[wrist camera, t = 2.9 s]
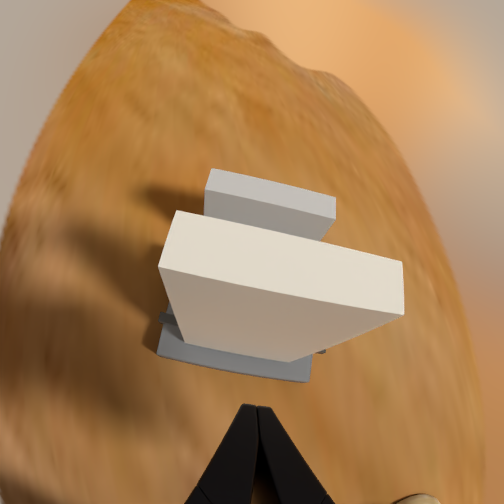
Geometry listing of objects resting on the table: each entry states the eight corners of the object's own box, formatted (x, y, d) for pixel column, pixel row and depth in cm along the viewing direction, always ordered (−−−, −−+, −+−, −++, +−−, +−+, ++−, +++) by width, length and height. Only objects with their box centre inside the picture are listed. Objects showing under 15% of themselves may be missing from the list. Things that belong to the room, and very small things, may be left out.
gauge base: (302, 382, 18) (346, 377, 12) (159, 356, 17) (138, 340, 11) (316, 250, 22) (351, 202, 16) (194, 223, 21) (193, 164, 16)
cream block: (311, 365, 17) (441, 320, 7) (161, 337, 16) (101, 252, 6) (314, 341, 17) (438, 271, 8) (167, 312, 17) (123, 199, 7)
